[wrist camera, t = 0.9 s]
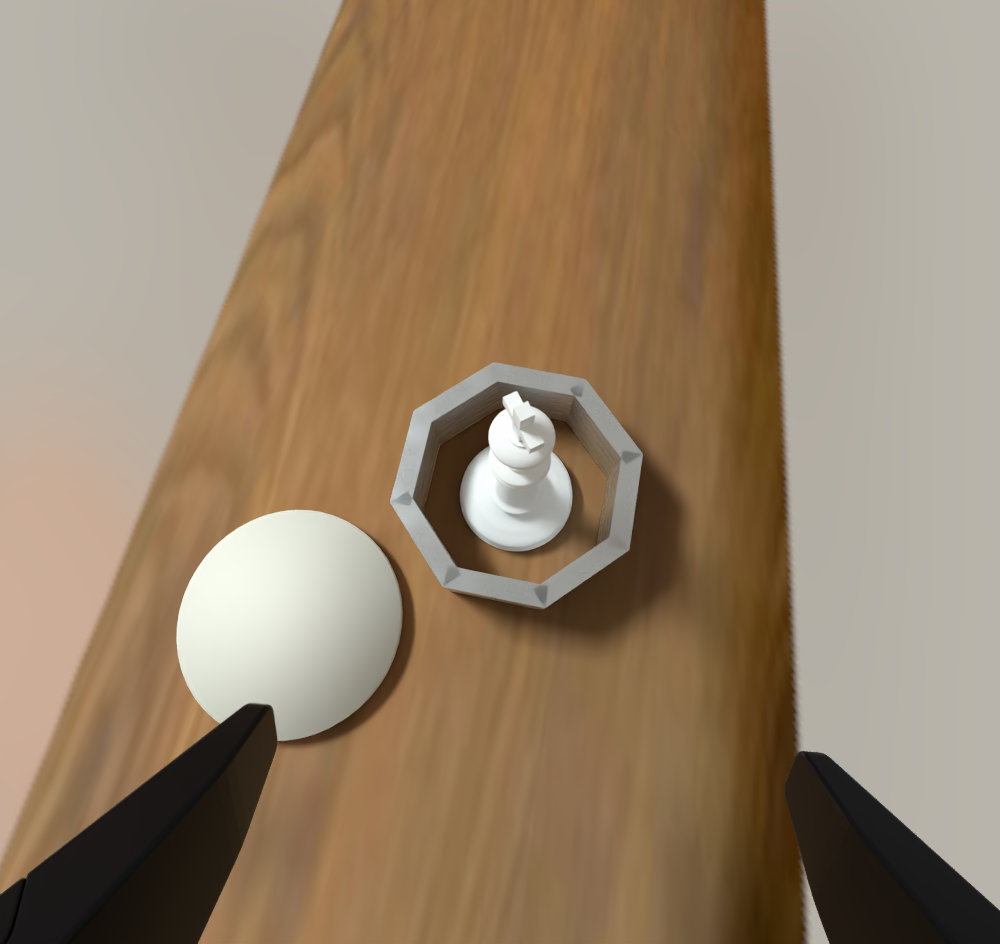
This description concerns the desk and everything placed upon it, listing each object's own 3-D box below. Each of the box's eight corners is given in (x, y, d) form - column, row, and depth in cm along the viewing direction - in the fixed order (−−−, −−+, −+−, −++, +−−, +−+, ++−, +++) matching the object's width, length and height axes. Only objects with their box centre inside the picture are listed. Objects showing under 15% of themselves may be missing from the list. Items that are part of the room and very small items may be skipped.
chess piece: (540, 424, 25) (563, 301, 15) (592, 520, 24) (652, 452, 14) (442, 470, 24) (401, 371, 15) (489, 571, 23) (479, 535, 14)
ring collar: (604, 623, 23) (619, 623, 20) (388, 578, 23) (371, 572, 20) (634, 417, 25) (651, 391, 22) (438, 381, 25) (429, 350, 23)
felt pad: (370, 760, 21) (367, 764, 21) (152, 710, 22) (143, 713, 21) (424, 534, 24) (423, 532, 23) (226, 494, 24) (219, 491, 24)
